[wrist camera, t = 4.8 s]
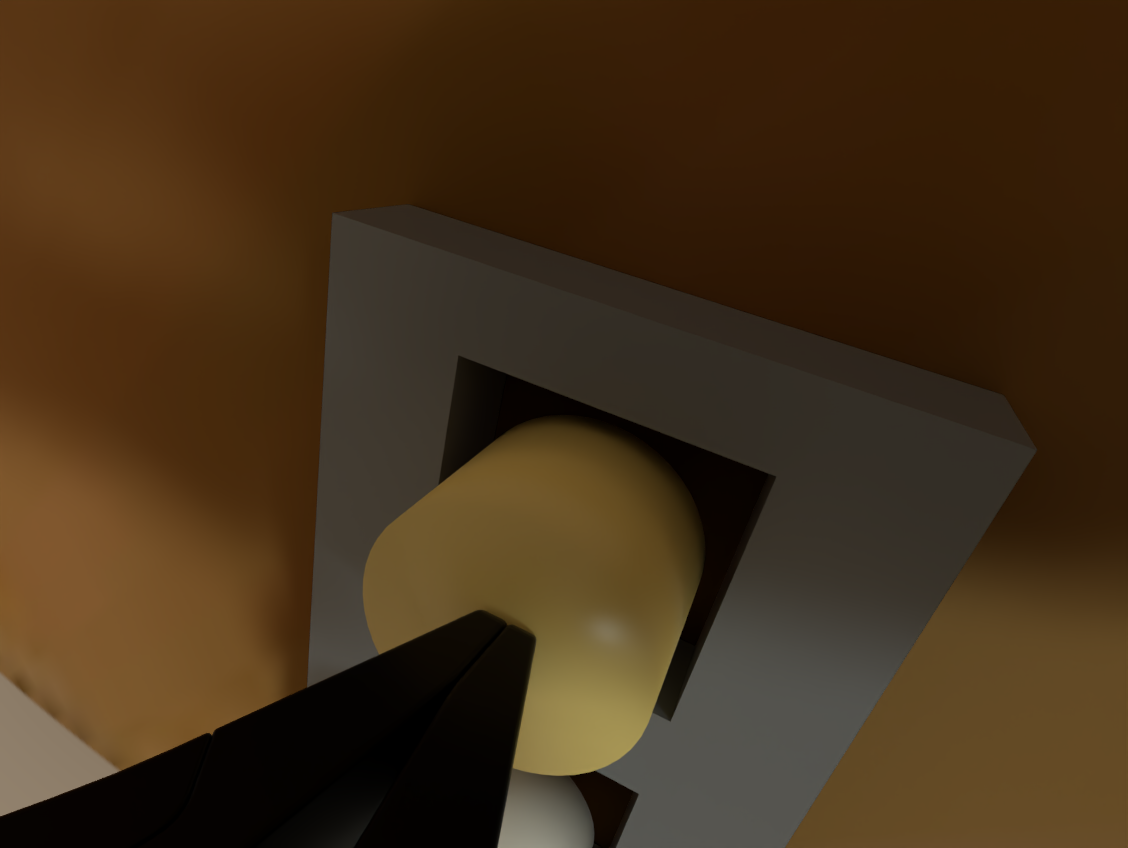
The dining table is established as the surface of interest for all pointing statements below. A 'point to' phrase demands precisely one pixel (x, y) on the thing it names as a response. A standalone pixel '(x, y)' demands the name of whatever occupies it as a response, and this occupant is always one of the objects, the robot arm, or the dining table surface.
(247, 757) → the robot arm
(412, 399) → the button panel
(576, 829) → the cream button
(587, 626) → the mustard button
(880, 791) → the dining table surface
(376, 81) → the dining table surface
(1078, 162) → the dining table surface
